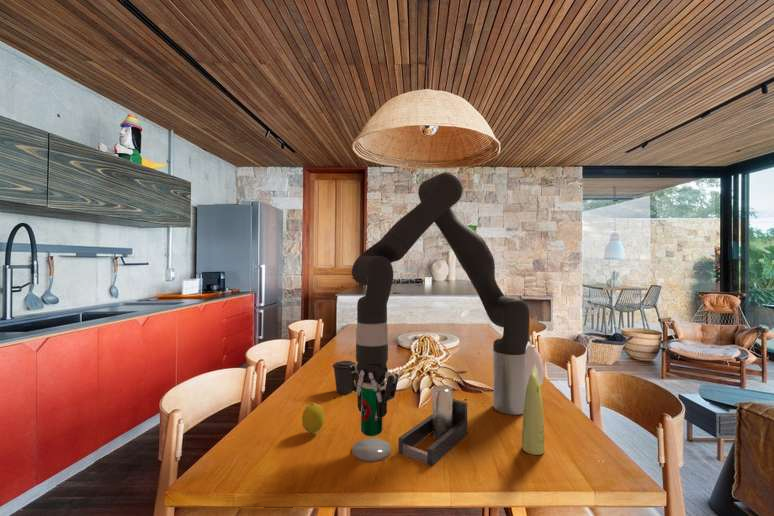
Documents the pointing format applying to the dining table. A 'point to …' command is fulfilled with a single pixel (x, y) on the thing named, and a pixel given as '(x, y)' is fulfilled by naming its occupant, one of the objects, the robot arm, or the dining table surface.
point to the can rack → (441, 444)
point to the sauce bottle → (533, 363)
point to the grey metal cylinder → (442, 410)
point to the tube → (533, 417)
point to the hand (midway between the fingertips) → (371, 413)
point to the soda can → (370, 411)
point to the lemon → (313, 418)
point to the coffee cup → (342, 377)
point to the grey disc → (371, 449)
